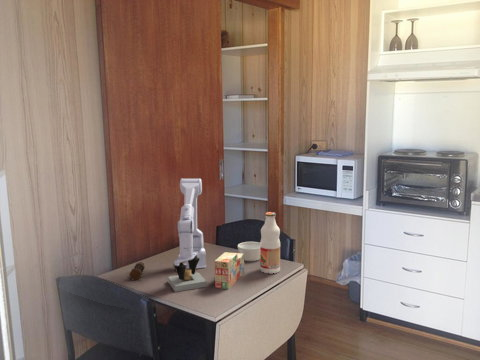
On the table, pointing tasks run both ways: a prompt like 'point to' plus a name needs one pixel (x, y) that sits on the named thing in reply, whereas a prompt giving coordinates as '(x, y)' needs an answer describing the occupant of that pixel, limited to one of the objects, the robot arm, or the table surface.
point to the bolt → (137, 271)
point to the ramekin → (250, 250)
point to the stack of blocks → (228, 269)
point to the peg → (187, 275)
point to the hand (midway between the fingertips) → (187, 276)
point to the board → (187, 282)
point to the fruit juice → (270, 245)
